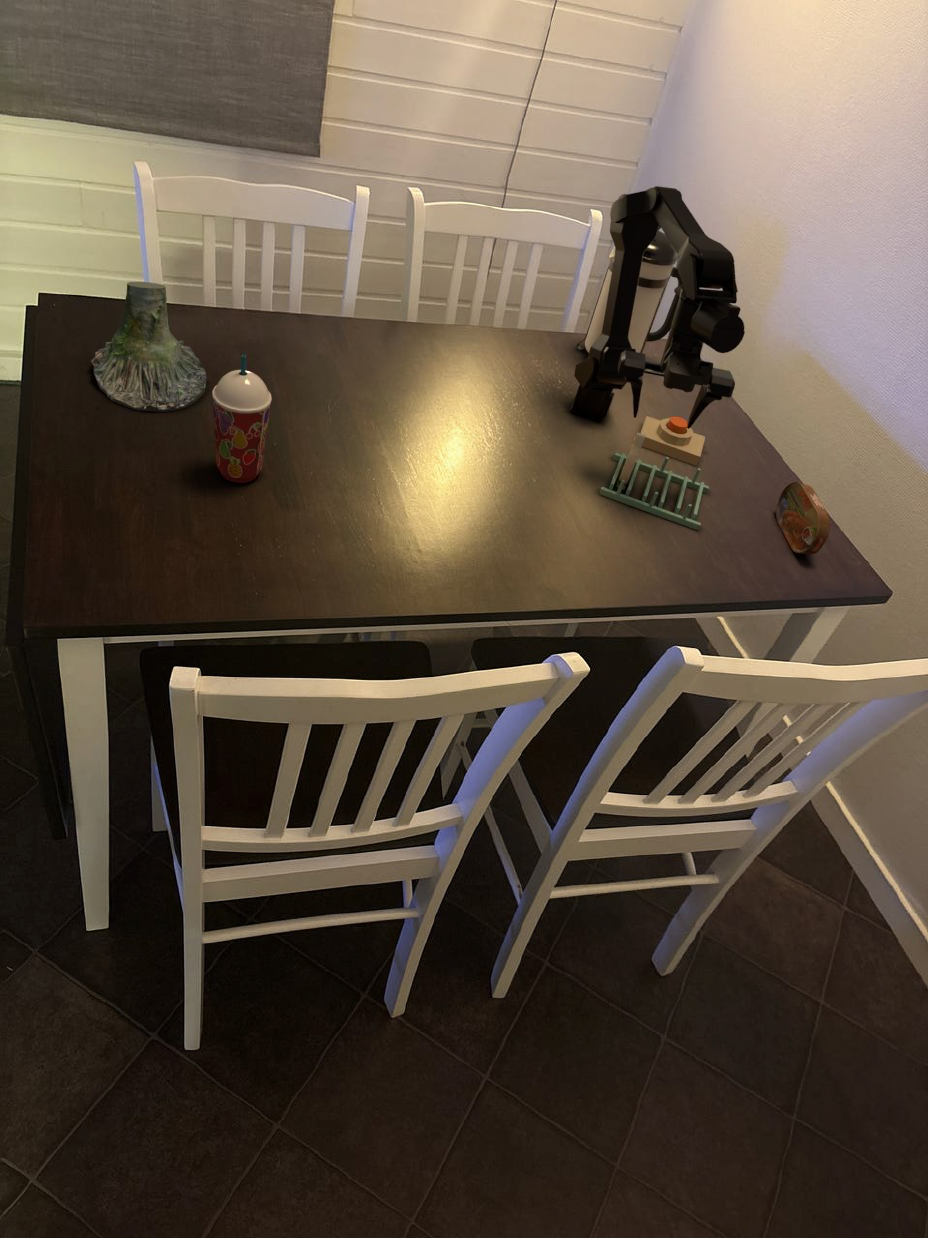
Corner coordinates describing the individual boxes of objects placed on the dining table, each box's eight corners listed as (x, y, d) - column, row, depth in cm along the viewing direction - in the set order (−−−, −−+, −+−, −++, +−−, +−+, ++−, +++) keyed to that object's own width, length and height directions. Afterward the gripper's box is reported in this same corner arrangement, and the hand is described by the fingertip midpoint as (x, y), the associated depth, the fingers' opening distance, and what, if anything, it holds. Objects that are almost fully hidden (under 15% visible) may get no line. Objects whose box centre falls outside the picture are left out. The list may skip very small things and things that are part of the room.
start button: (665, 430, 169) (668, 422, 167) (668, 421, 171) (671, 414, 170) (683, 437, 168) (687, 429, 167) (686, 428, 171) (689, 420, 170)
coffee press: (630, 388, 186) (684, 245, 165) (563, 357, 189) (608, 214, 169) (659, 361, 198) (712, 225, 177) (595, 332, 201) (640, 196, 181)
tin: (770, 509, 163) (791, 471, 158) (786, 511, 164) (807, 473, 158) (797, 563, 153) (821, 525, 147) (814, 565, 153) (838, 527, 148)
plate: (613, 492, 157) (631, 447, 150) (622, 467, 163) (640, 422, 157) (622, 495, 156) (640, 450, 150) (631, 470, 163) (649, 426, 156)
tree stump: (89, 412, 142) (74, 295, 133) (98, 375, 159) (86, 269, 150) (208, 413, 147) (202, 300, 138) (206, 377, 164) (200, 274, 155)
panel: (635, 444, 170) (643, 426, 167) (642, 425, 176) (650, 407, 173) (696, 466, 169) (704, 448, 166) (701, 446, 175) (709, 428, 172)
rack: (599, 494, 155) (606, 475, 152) (613, 457, 165) (620, 439, 162) (698, 530, 153) (707, 512, 151) (706, 491, 163) (715, 473, 160)
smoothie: (276, 469, 141) (284, 354, 128) (249, 495, 135) (255, 378, 122) (229, 450, 142) (232, 334, 129) (200, 475, 136) (201, 357, 123)
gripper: (631, 333, 136) (606, 428, 145) (752, 357, 136) (720, 452, 145) (630, 314, 146) (607, 405, 154) (743, 336, 145) (714, 426, 154)
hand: (661, 422), depth 152 cm, fingers open, 9 cm apart
